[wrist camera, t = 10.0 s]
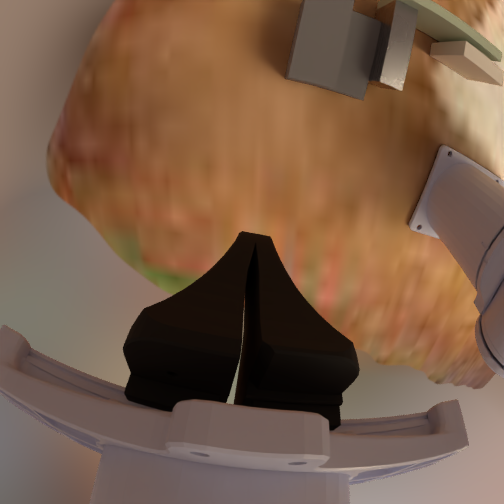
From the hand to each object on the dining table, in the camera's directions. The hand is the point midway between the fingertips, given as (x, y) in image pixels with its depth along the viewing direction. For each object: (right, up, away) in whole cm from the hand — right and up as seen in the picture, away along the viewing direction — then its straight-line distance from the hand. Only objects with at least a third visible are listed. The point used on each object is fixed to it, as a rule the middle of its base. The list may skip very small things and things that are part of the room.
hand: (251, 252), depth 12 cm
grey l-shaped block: (+12, +13, +1) cm, 18 cm away
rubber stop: (+5, +13, +2) cm, 15 cm away
